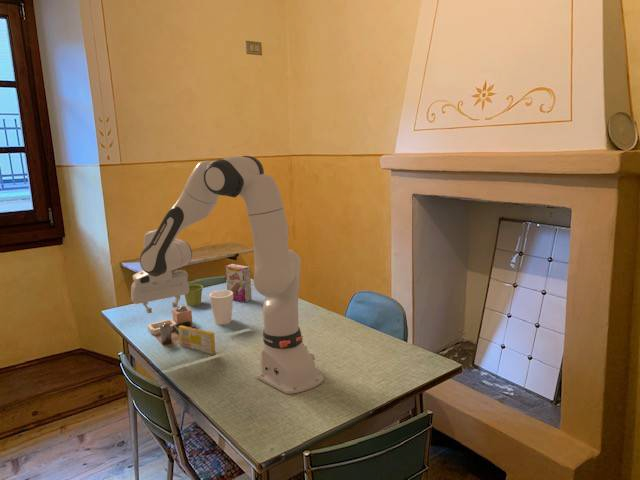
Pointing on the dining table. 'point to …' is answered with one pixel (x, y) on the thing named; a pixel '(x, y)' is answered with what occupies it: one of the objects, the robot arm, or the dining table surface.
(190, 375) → the dining table surface
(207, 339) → the candy box
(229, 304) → the foam cup
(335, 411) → the dining table surface
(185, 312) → the terracotta square box
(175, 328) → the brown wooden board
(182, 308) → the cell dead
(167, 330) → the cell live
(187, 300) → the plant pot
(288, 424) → the dining table surface
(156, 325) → the trough
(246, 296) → the candy bar box
